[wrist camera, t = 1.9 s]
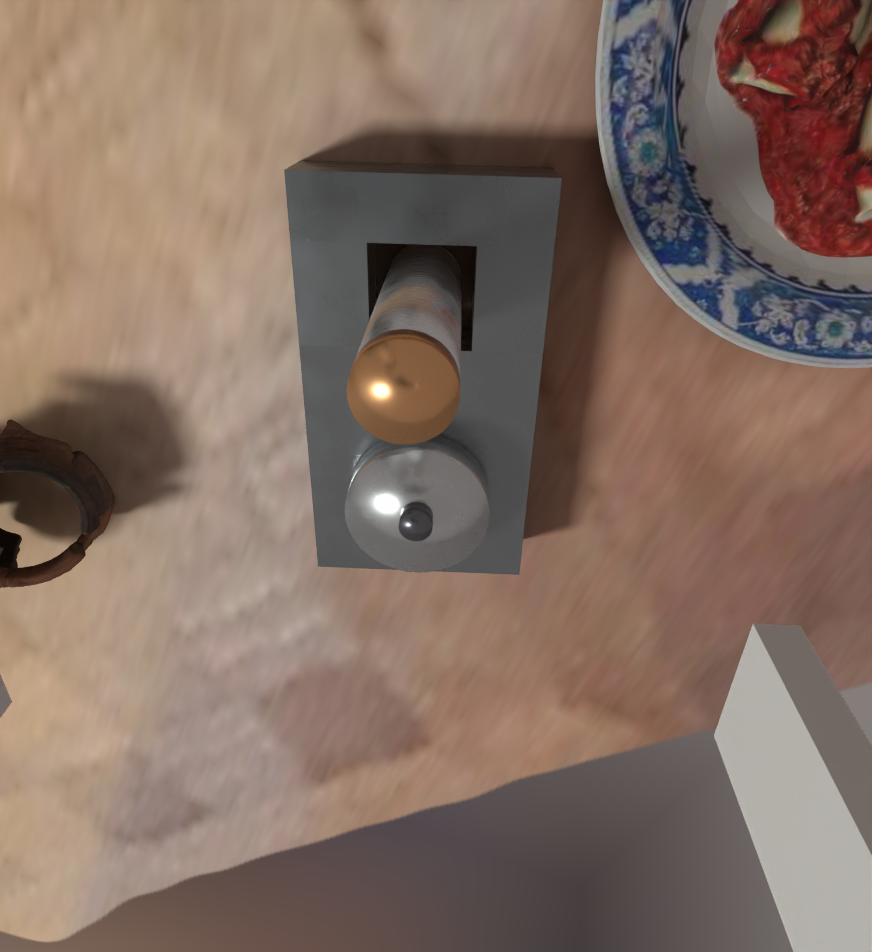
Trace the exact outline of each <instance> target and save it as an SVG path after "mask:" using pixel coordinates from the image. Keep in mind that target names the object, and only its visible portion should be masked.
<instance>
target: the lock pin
mask: <svg viewBox="0 0 872 952" xmlns="http://www.w3.org/2000/svg"><path fill="white" fill-rule="evenodd" d="M461 308H462V274H461V270H460V266H459V264H458V262H457V260H456V259H455V257H454V256H453V255H452V254H451V253H450V252H449V251H448V250H447V249H445V248H444V247H442V246H440V245H424V244H411V245H409V246H406V247H405V248H403V249H402V250H401V251H400V252H398V254H397V255H396V256H395V257H394V259H393V260H392V262H391V265H390V267H389V270H388V273H387V275H386V278H385V281H384V283H383V286H382V289H381V291H380V294H379V297H378V299H377V302H376V305H375V307H374V310H373V313H372V315H371V318H370V321H369V323H368V326H367V329H366V331H365V334H364V337H363V339H362V342H361V345H360V347H359V350H358V353H357V355H356V358H355V361H354V363H353V366H352V369H351V371H350V374H349V377H348V382H347V400H348V403H349V407H350V409H351V412H352V414H353V415H354V417H355V419H356V420H357V421H358V423H359V424H360V425H361V426H362V427H363V428H364V429H365V430H366V431H368V432H369V433H370V434H372V435H373V436H375V437H377V438H379V439H381V440H383V441H386V442H390V443H394V444H402V445H408V444H417V443H421V442H425V441H427V440H430V439H432V438H434V437H436V436H437V435H439V434H440V433H441V432H443V431H444V430H445V429H446V428H447V427H448V425H449V424H450V423H451V422H452V420H453V418H454V417H455V415H456V412H457V410H458V406H459V400H460V364H461Z"/></svg>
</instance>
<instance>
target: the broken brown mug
mask: <svg viewBox="0 0 872 952" xmlns="http://www.w3.org/2000/svg"><path fill="white" fill-rule="evenodd" d="M3 472H5V473H9V472H19V473H32V474H37V475H41V476H45V477H48V478H50V479H52V480H54V481H56V482H57V483H59V484H60V485H62V486H63V487H65V489H66V490H67V491H69V492H70V493H71V494H72V496H73V497H74V498H75V500H76V501H77V503H78V505H79V508H80V511H81V515H82V525H81V530H82V534H81V535H80V537H79V538H78V540H77V541H76V542H74V543H73V544H72V545H70V546H69V547H68V548H67V549H66V550H65V551H64V552H63V553H61V554H60V555H58V556H57V557H55V558H53V559H51V560H49V561H47V562H44V563H42V564H38V565H35V566H30V567H24V568H18V564H17V561H16V559H17V555H18V553H19V551H20V548H19V545H20V543H21V541H22V538H21V536H20V535H18V534H15V533H11V532H7V531H5V530H3V529H1V528H0V588H1V587H24V586H30V585H35V584H39V583H43V582H47V581H50V580H52V579H54V578H56V577H59V576H61V575H62V574H64V573H66V572H68V571H70V570H71V569H72V568H73V567H74V566H76V565H77V564H78V563H79V562H80V561H81V560H82V559H83V558H84V557H85V555H86V554H85V550H86V549H87V548H88V547H89V546H90V545H91V544H92V542H93V540H94V539H96V538H97V537H98V536H99V535H101V534H102V533H103V532H104V530H105V529H106V527H107V525H108V522H109V520H110V517H111V514H112V510H113V506H114V495H113V493H112V490H111V488H110V486H109V484H108V482H107V480H106V479H105V477H104V476H103V474H102V472H101V471H100V470H99V468H98V467H97V466H96V465H95V464H94V463H93V462H92V461H91V460H90V459H89V457H88V456H87V455H86V454H85V453H84V452H82V451H75V452H72V450H71V447H70V446H69V445H68V444H67V443H64V442H61V441H59V440H55V439H49V438H46V437H43V436H39V435H37V434H34V433H32V432H30V431H28V430H26V429H25V428H23V427H22V426H21V425H20V424H18V423H16V422H14V421H12V420H8V422H7V426H6V427H5V429H4V431H3V432H2V434H1V435H0V473H3Z"/></svg>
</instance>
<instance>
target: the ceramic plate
mask: <svg viewBox="0 0 872 952" xmlns="http://www.w3.org/2000/svg"><path fill="white" fill-rule="evenodd" d="M595 88H596V118H597V127H598V136H599V145H600V151H601V156H602V161H603V166H604V170H605V175H606V180H607V184H608V187H609V190H610V193H611V196H612V199H613V202H614V206H615V209H616V212H617V214H618V216H619V218H620V221H621V223H622V225H623V228H624V230H625V232H626V234H627V237H628V239H629V240H630V242H631V244H632V246H633V247H634V249H635V251H636V253H637V254H638V256H639V258H640V260H641V261H642V263H643V264H644V266H645V267H646V268H647V270H648V271H649V272H650V274H651V275H652V277H653V278H654V279H655V281H656V282H657V283H658V285H659V286H660V287H661V288H662V289H663V290H664V291H665V292H666V293H667V294H668V295H669V296H670V298H671V299H672V300H673V301H674V302H675V303H676V304H677V305H678V306H680V307H681V308H682V309H683V310H684V311H685V312H687V313H688V314H689V315H690V316H691V317H692V318H694V319H695V320H696V321H697V322H699V323H700V324H702V325H703V326H705V327H706V328H708V329H709V330H711V331H712V332H714V333H715V334H717V335H719V336H721V337H723V338H725V339H726V340H728V341H730V342H732V343H734V344H736V345H738V346H740V347H743V348H746V349H748V350H751V351H754V352H756V353H759V354H762V355H765V356H767V357H770V358H774V359H778V360H782V361H786V362H791V363H797V364H803V365H810V366H817V367H835V368H865V367H872V0H603V6H602V13H601V20H600V27H599V33H598V42H597V58H596V74H595Z"/></svg>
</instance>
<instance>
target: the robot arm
mask: <svg viewBox="0 0 872 952" xmlns="http://www.w3.org/2000/svg"><path fill="white" fill-rule="evenodd" d="M11 702H12V701H11V698H10V696H9V694H8V691H7V689H6V687H5V684H4V682H3V680H2V677H1V675H0V718H1V716H2V715H3V713H4V712H5V711H6V709H7V708H8V707H9V705H10V704H11ZM714 737H715V740H716V742H717V745H718V748H719V751H720V753H721V756H722V759H723V761H724V764H725V767H726V770H727V772H728V775H729V778H730V780H731V783H732V786H733V789H734V791H735V794H736V797H737V799H738V802H739V805H740V808H741V810H742V813H743V816H744V818H745V821H746V824H747V827H748V829H749V832H750V835H751V837H752V840H753V843H754V846H755V848H756V851H757V854H758V856H759V859H760V862H761V865H762V867H763V870H764V873H765V876H766V878H767V880H768V884H769V886H770V889H771V892H772V895H773V897H774V900H775V903H776V905H777V908H778V911H779V914H780V916H781V919H782V922H783V924H784V927H785V930H786V933H787V935H788V938H789V941H790V943H791V946H792V949H793V952H872V745H871V744H870V742H869V740H868V739H867V737H866V735H865V734H864V732H863V730H862V729H861V727H860V725H859V724H858V722H857V720H856V719H855V717H854V715H853V713H852V712H851V710H850V708H849V707H848V705H847V703H846V702H845V700H844V698H843V697H842V695H841V693H840V692H839V690H838V688H837V687H836V685H835V683H834V682H833V680H832V678H831V676H830V675H829V673H828V671H827V670H826V668H825V666H824V665H823V663H822V661H821V660H820V658H819V656H818V655H817V653H816V651H815V650H814V648H813V646H812V645H811V643H810V641H809V639H808V638H807V636H806V634H805V633H804V631H803V629H802V628H801V626H791V625H769V624H753V625H752V628H751V631H750V634H749V637H748V640H747V643H746V645H745V648H744V651H743V654H742V657H741V660H740V663H739V665H738V668H737V671H736V674H735V677H734V680H733V683H732V685H731V688H730V691H729V694H728V697H727V700H726V703H725V705H724V708H723V711H722V714H721V717H720V720H719V723H718V725H717V728H716V731H715V734H714Z"/></svg>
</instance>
